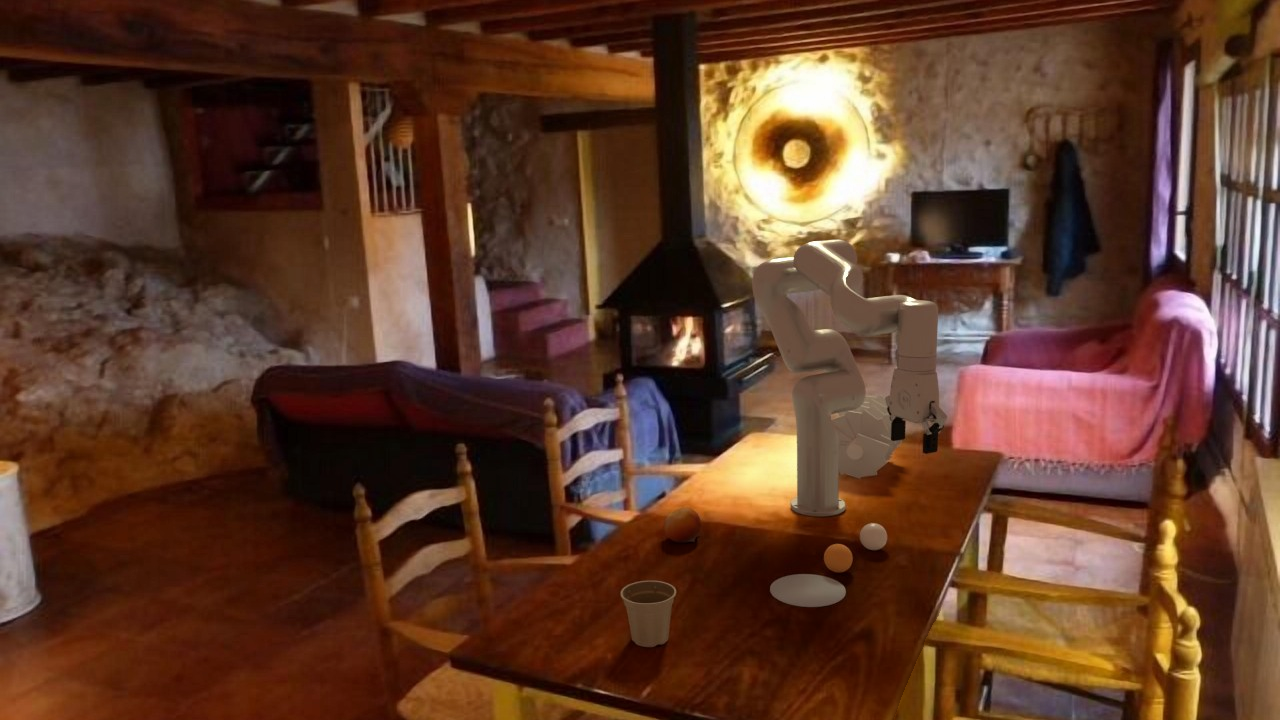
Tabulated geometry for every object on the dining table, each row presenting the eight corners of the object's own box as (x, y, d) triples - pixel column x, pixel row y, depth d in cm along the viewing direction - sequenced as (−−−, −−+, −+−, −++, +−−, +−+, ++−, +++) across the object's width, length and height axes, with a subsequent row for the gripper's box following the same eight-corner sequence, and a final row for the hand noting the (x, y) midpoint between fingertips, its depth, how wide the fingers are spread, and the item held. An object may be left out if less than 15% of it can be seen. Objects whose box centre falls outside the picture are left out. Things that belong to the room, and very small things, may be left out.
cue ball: (860, 543, 200) (860, 518, 199) (887, 545, 199) (888, 520, 198) (858, 553, 195) (858, 527, 194) (886, 555, 194) (886, 529, 192)
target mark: (776, 572, 187) (776, 571, 187) (849, 578, 183) (849, 577, 183) (764, 602, 174) (764, 601, 174) (842, 610, 170) (842, 609, 170)
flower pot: (620, 628, 167) (618, 582, 165) (674, 624, 167) (672, 578, 166) (624, 654, 158) (622, 605, 156) (681, 650, 158) (679, 601, 157)
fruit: (707, 540, 201) (686, 509, 201) (676, 557, 203) (655, 526, 203) (711, 526, 209) (692, 496, 208) (681, 543, 211) (662, 513, 210)
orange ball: (825, 564, 190) (825, 538, 189) (853, 566, 189) (853, 540, 188) (822, 575, 185) (822, 549, 184) (851, 578, 183) (851, 551, 182)
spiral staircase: (837, 494, 243) (857, 462, 265) (901, 472, 234) (917, 440, 256) (805, 430, 242) (829, 403, 264) (869, 406, 234) (887, 379, 256)
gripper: (873, 357, 195) (871, 438, 198) (931, 373, 179) (927, 460, 183) (903, 353, 198) (900, 433, 201) (962, 369, 182) (958, 455, 186)
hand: (913, 446), depth 192 cm, fingers open, 9 cm apart
